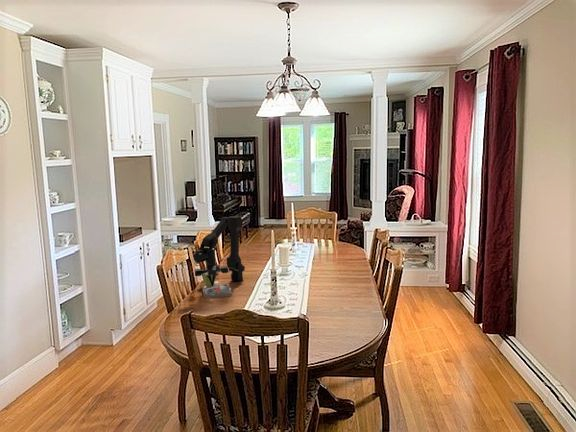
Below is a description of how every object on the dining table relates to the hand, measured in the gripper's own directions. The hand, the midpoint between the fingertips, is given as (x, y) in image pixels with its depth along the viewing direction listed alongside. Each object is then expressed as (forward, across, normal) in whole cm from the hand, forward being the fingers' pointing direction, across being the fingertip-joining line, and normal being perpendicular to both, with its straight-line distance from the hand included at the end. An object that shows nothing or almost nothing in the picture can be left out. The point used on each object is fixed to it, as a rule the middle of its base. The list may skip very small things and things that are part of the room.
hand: (212, 285), depth 261 cm
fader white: (+1, +2, 0) cm, 3 cm away
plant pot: (+3, -1, +11) cm, 11 cm away
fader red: (+1, +2, -9) cm, 9 cm away
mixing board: (+3, +2, -4) cm, 6 cm away
